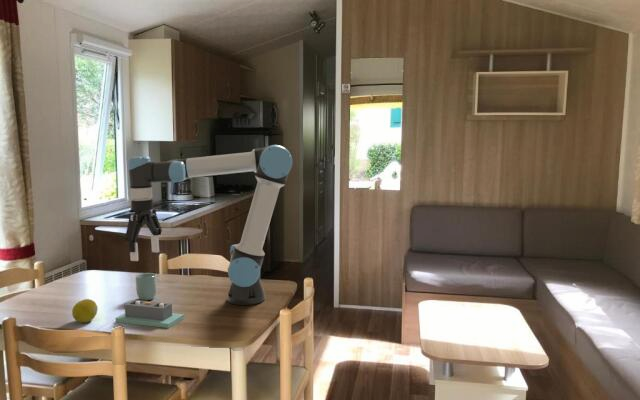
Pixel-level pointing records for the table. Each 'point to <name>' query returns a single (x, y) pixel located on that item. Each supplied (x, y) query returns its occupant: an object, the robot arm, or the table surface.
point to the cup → (146, 286)
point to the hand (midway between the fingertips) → (145, 256)
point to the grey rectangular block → (148, 310)
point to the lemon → (84, 310)
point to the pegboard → (149, 322)
